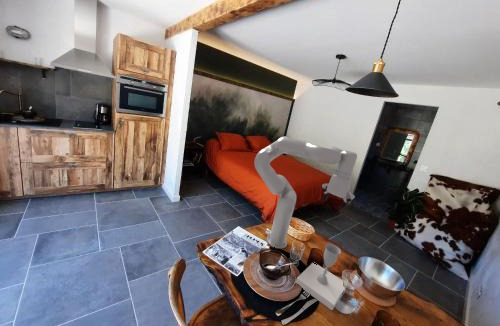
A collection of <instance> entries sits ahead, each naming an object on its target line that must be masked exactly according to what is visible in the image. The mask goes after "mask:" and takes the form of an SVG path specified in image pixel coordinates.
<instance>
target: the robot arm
mask: <svg viewBox="0 0 500 326" xmlns="http://www.w3.org/2000/svg"><path fill="white" fill-rule="evenodd" d="M283 154H286V155H290V156H295V157H301V158H304V159H308V160H311V161H315V162H318V163H323V164H326V165H327V164H328V165H337V167H336V169H332V170H333V171H332V172H333V174H332V176H331V177H330V179H329V183H323V184H322V185H321V186H322V191H323V193H324V195H323V202H326V201H327V200H328V198H329V194H331V195H333V196H336V197H338V198H341V199H342V200H343V202H342V204H341V207H340V209H341V210H344V209H345V208H346V207H347V204H348V202H351V201H352V200H354V199H355V198H356V196H355V195H354V193H352V192H351V190H350V188H351V184H352V179H351V177H352V174H353V171H354V168H355V164H356V161H357V159H358V154H357V153H356V152H355V151H354V152H353V151H350V150H344V149H340V148H338V147H335V146H330V147H328V148H327V147H322V146H318V145H315V144H313V143H311V142H309V141H306V140H298V139H294V138H290V137H289V136H285V135H284V136H281V137H280V138H278V139H277V140H275V141H273V142H272V143H271V144H269V145H268V146H266V147H264V148H262V149H261V150H259V151H258V152H257V154H256V156H255V158H254V168H255V170H256V172H257V173H258V175H259V176H260V178H261V180H262V181H263V182H264V183H265V186H266V187H267V188H268V190H269V192H270V193H271V194H273V195H275V196H279V197H278V200H277V203H276V209H275V212H274V218H273V223H272V226H271V230H270V228H266V230H265V232H264V233H265V234H266V235H267V236H266V243H267V244H268V245H269V246H270V247H272V248H274V247H275V249H278V248H279V249H280V250H283V249H285V248H286V247H287V246H288V241H287V237H288V233H289V232H288V231H289V228H290V225H291V222H292V221H291V220H292V217H293V214H294V210H295V207H296V203H297V192H296V191H295V190H294V188H293V186H292V185H291V184H290V182H289V181H288V180H287V178H286V177H285V176H284V175H281V174H278V173H276V170H274V168H273V167H272V166H271V163H272V161H273V160H275V159H277V158H278V157H279V156H281V155H283ZM326 187H327V188H326ZM348 196H350V197H349V198H348ZM279 249H278V250H279Z"/></svg>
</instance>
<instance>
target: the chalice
mask: <svg viewBox="0 0 500 326" xmlns="http://www.w3.org/2000/svg"><path fill="white" fill-rule="evenodd" d="M341 253H342V251H341V248H339V246H337V245H336V244H334V243H333V244H332V243H326V244H325V249H324V252H323V262H324V265H325V267H323V268H324V269H325V271H323V272H324V274H321V275H319V276H318V277H317V281H318V282H319V283H320V284H322V285H327V284H328V282H327V277H326V276H325V274H327V271H329V268H331V267H333V265H334V264H336V263H337V260H338V258H339V255H340V254H341Z"/></svg>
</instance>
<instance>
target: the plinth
mask: <svg viewBox="0 0 500 326" xmlns="http://www.w3.org/2000/svg"><path fill="white" fill-rule="evenodd" d="M314 263H315V262H314ZM314 263H313V262H311V263H310V265H308V267H306V269H305V270H303V272H301V273H300V274H299V276H297V278H296V279H295V284H296V283H297V284H299V285H300V286H301V287H302V288H303V289H302V288H301V287H300V286H299V287H300V288H301V289H302V290H304V291H305V292H307V293H308V294H309V295H310V294H311V295H310V296H312V297H313V298H315V300H317V301H318V302H320V303H321V304H322V305H324V306H325V307H326V308H328V309H329V310H331V311H334V308H335V307H336V306H337V303H338V302H339V301H340V299H341V297H342V296H341V295H343V294H344V292H345V291H344V289H345V288H344V287H343V286H342V285H343V281H344V280H342V279H341V278H340V277H338V276H337V275H334V274H333V273H331V272H330V271H329V270H327V274H325V276H326V277H327V282H328V284H327V285H322V284H320V283H319V282H318V281H317V277H318V276H319V275H321V274H324V272H323V271H325V269H324V268H325V267H322V266H320V265H319V264H317V263H316V264H317V265H316V264H314ZM297 284H296V285H297ZM345 290H346V289H345ZM343 291H344V292H343ZM342 293H343V294H342ZM339 298H340V299H339Z"/></svg>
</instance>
